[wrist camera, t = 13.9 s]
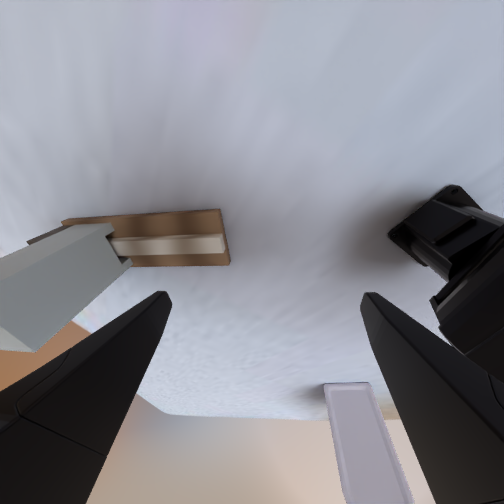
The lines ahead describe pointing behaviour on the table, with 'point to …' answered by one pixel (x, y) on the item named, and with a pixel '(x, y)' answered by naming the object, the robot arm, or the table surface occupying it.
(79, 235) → the block
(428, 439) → the robot arm
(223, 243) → the rail board
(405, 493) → the soap bottle
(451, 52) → the table surface
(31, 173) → the table surface
